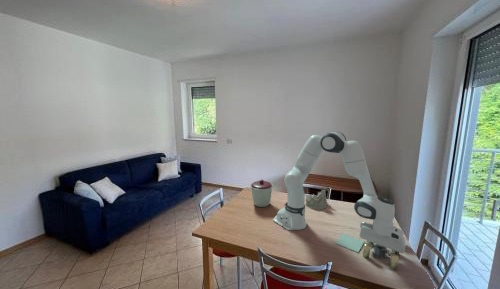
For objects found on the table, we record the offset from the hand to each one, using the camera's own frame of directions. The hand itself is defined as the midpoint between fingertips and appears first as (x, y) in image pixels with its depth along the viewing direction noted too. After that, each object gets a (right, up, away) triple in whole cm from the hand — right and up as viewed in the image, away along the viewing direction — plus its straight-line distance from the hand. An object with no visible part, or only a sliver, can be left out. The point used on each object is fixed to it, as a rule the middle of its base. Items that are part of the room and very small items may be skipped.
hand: (380, 251), depth 110 cm
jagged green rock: (-15, +8, +58) cm, 60 cm away
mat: (-11, 0, +10) cm, 15 cm away
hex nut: (0, -2, 0) cm, 2 cm away
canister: (-59, +8, +61) cm, 85 cm away
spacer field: (0, -2, 0) cm, 2 cm away
